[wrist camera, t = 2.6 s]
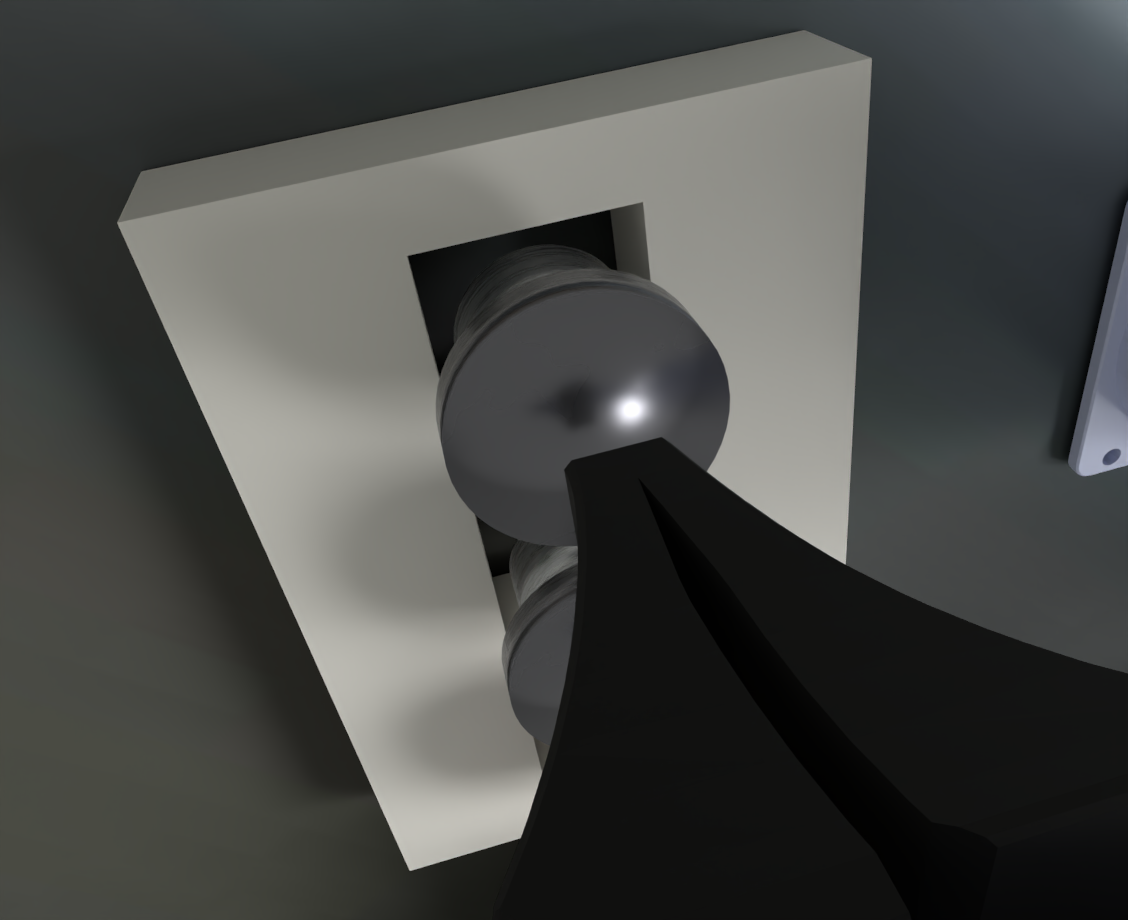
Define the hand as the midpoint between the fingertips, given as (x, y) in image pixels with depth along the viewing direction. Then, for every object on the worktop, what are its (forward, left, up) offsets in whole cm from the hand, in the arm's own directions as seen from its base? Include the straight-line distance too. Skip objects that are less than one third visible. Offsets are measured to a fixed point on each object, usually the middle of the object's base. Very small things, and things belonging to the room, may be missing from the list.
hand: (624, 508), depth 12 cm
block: (0, +6, -8) cm, 9 cm away
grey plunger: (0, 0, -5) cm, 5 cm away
